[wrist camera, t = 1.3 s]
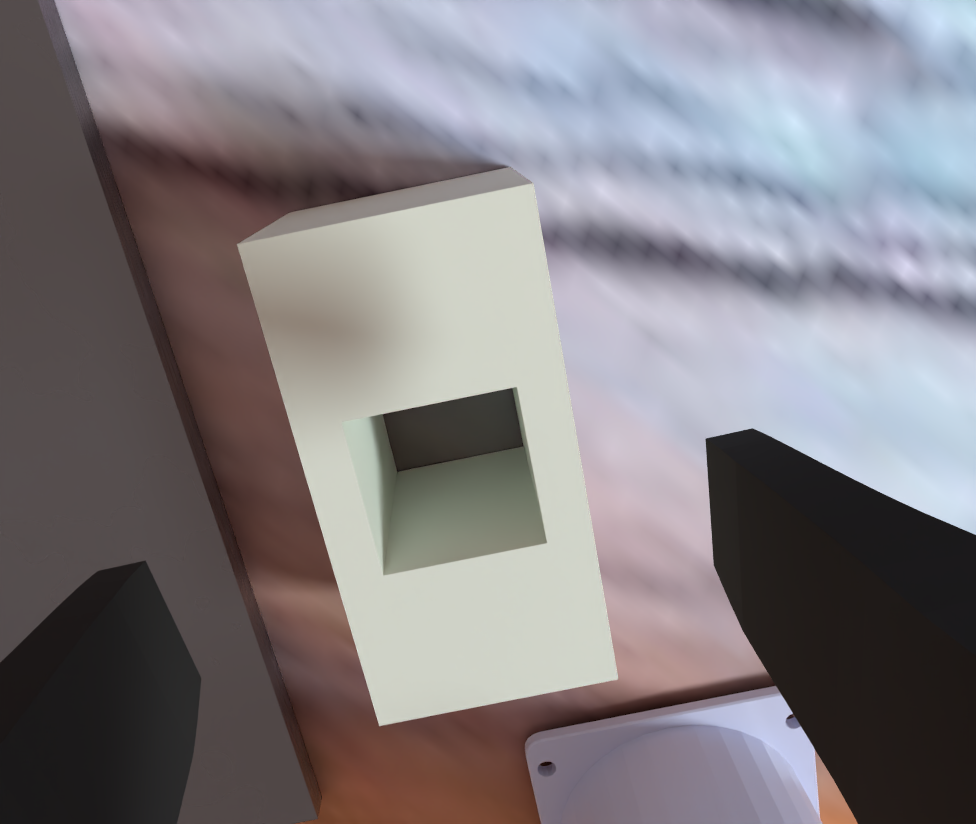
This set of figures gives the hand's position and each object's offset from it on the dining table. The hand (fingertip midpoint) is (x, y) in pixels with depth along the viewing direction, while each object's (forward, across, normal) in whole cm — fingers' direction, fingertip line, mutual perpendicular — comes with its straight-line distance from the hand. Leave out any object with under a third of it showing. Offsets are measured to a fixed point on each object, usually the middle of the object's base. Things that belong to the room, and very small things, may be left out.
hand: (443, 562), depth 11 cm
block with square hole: (+9, 0, +2) cm, 10 cm away
